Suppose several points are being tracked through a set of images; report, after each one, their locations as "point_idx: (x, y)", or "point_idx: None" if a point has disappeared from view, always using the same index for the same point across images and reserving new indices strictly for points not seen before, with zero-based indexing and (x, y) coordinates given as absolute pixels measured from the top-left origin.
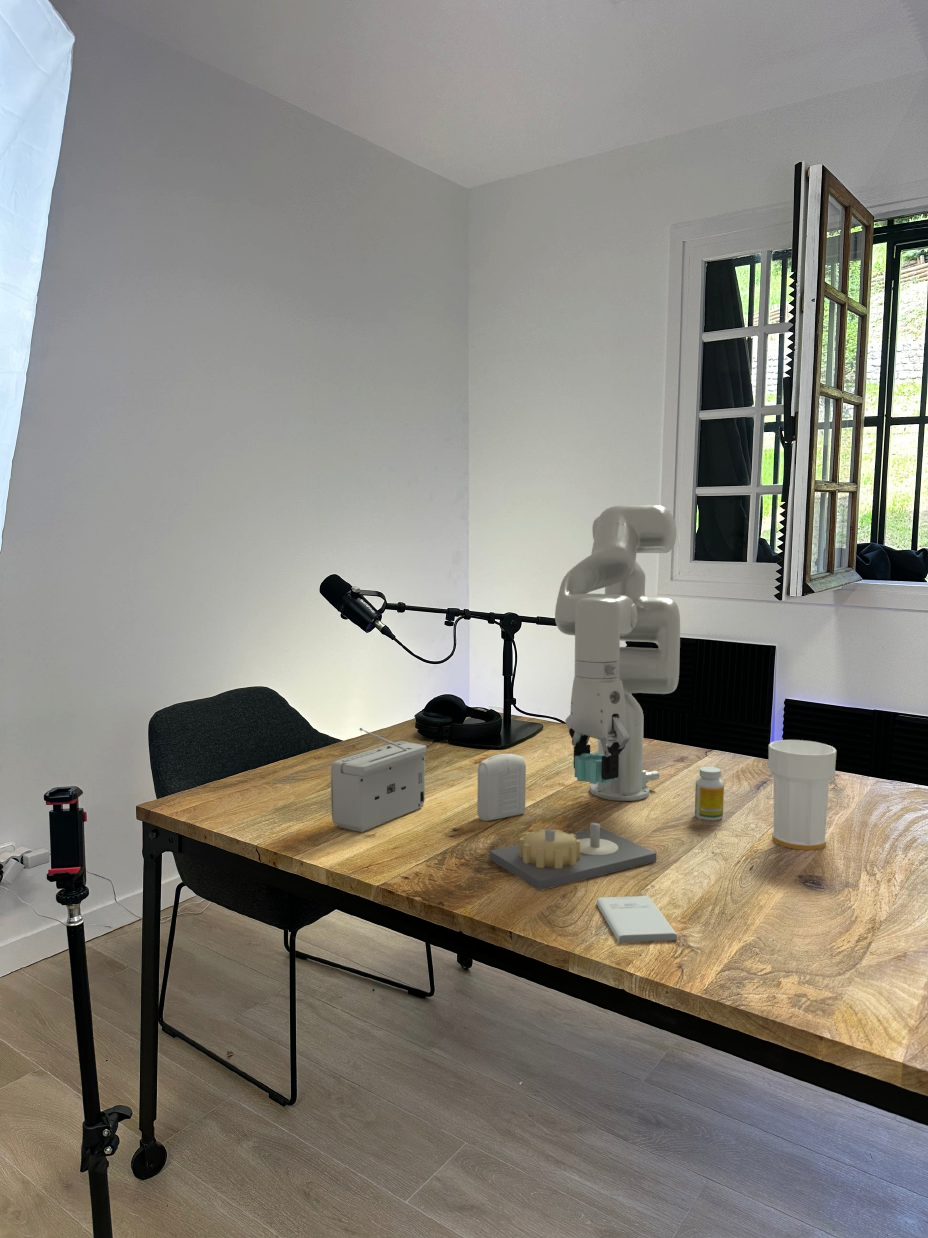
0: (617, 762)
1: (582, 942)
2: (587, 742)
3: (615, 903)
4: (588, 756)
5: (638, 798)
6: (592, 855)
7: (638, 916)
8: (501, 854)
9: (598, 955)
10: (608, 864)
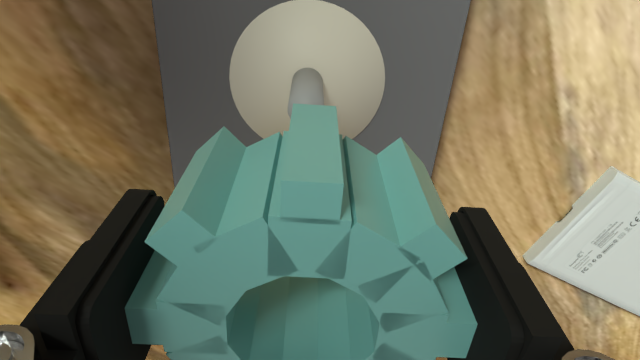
0: (556, 322)
1: (592, 349)
2: (36, 355)
3: (576, 254)
4: (226, 338)
5: None
6: (358, 135)
7: None
8: None
9: (636, 354)
10: (437, 144)
